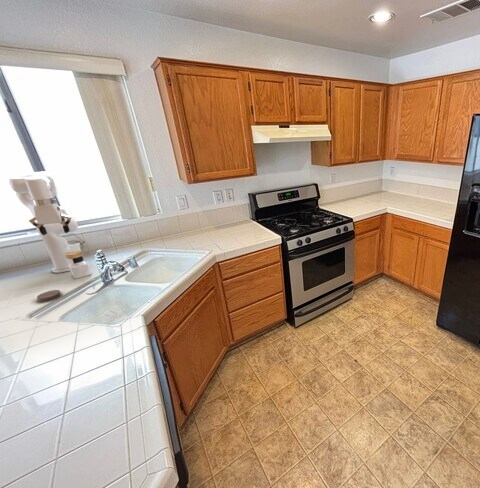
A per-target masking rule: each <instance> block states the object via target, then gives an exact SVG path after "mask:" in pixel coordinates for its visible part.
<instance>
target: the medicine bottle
mask: <svg viewBox="0 0 480 488" xmlns="http://www.w3.org/2000/svg"><path fill="white" fill-rule="evenodd" d="M68 260H69V262H70V264H69V267H70V272H71V275H72V276H73V278H74V279H75V280H76V279H80V278H84V277H86V276H91V271H90V268H89V266H88V263H87V262H86V261H85V260H84V258H83V256H81V257H78V258H74V259H68Z"/></svg>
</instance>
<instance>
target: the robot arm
mask: <svg viewBox="0 0 480 488" xmlns="http://www.w3.org/2000/svg"><path fill="white" fill-rule="evenodd" d="M8 182H9V185H10V188H11V189H12V190H13V191H14V192H15V195H16V197H17V199H18V200H19V201H20V202H21V204H22V205H24V206H25V207H26V208H28V209H29V210H30V212H31V214H32V216H33V217H32V218H31V219H29V220H28V222H29V223H30V224H31V225H32V226H34V227H35V229H36V231H37V232H38V234H39V236H40V237H41V239H42V241H43V243H44V245H45V248H46V250H47V253H48V255H49V257H50V260H51V262H52V265H53V268H52V269H51V272H52V273H54V274H58V273H59V274H60V273H66V272H71V270H70V267H69V264H70V262H69V260H68V259H66V257H65V253H67V252H69V251H72V250H71V248H70V245H69V242H68V240H67V239H66V238H65V237H63V236H61V235H63V234H68V233H72V232H76V231H77V230H78V229H79V225H78V222H77V221H76V218H75V217H74V216H73V214H72V212H71V211H70V209H69V208H68V207H67V206H64V205H59V204H58V200H57V199H56V198H55V197H56V196H57V195H58V188H57V183H56V180H55V178H54V175H52V174H51V172H48V171H34V172H24V173H21V174H19V175H15V176H11V177H10V178H9V181H8Z"/></svg>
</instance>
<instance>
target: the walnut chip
mask: <svg viewBox="0 0 480 488" xmlns="http://www.w3.org/2000/svg"><path fill="white" fill-rule="evenodd" d="M61 296H62V292H61V290H60V289H51V290H47V291H44V292H42V293H40V294H38V295H37V296H36V299H37V301H38V302H39V303H46V302H50V301H53V300H57V299H58V298H60V297H61Z"/></svg>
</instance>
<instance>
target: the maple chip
mask: <svg viewBox="0 0 480 488" xmlns="http://www.w3.org/2000/svg"><path fill="white" fill-rule="evenodd" d="M81 256H82V257H83V256H84V252H83V250H82V249H75V250H71V251H69V252H67V253H65V257H66V259H74V258H78V257H81Z"/></svg>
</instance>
